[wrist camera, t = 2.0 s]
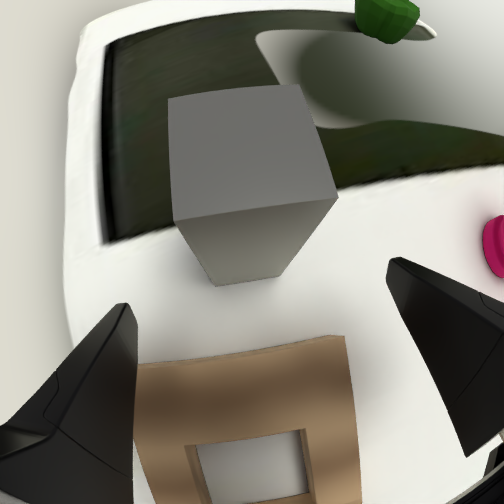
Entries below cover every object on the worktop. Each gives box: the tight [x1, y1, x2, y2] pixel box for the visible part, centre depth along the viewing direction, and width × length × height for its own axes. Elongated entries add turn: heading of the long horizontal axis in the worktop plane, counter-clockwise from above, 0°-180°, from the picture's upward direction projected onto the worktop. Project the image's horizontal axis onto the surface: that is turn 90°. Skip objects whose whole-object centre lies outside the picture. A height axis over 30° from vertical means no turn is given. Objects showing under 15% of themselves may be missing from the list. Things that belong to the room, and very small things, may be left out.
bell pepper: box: [355, 0, 420, 44], centre depth 24 cm, size 8×8×10 cm
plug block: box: [168, 84, 339, 287], centre depth 14 cm, size 4×4×13 cm
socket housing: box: [133, 335, 362, 504], centre depth 15 cm, size 18×14×3 cm
